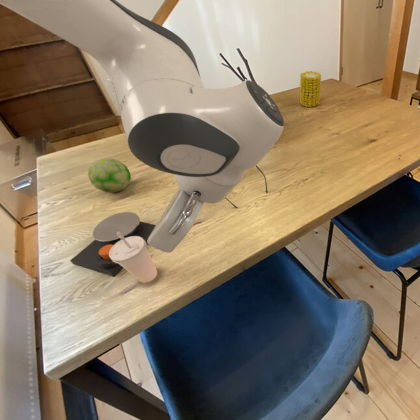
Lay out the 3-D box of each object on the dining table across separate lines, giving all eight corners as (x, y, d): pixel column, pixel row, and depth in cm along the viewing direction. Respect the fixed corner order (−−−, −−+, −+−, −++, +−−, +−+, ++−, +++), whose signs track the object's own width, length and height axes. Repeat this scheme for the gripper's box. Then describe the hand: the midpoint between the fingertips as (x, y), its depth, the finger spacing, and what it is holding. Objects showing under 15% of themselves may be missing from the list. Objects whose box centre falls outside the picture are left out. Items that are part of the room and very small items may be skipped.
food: (308, 102, 138) (323, 108, 133) (291, 103, 130) (306, 110, 125) (313, 69, 130) (329, 74, 125) (295, 68, 122) (311, 74, 117)
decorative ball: (92, 194, 82) (71, 166, 76) (122, 176, 89) (106, 149, 82) (115, 203, 79) (95, 174, 73) (144, 183, 86) (128, 156, 79)
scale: (114, 277, 61) (106, 269, 59) (73, 264, 63) (65, 256, 61) (162, 229, 71) (157, 221, 69) (125, 220, 74) (119, 212, 72)
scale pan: (117, 246, 63) (115, 245, 63) (83, 237, 66) (82, 235, 65) (149, 217, 70) (148, 216, 70) (118, 210, 73) (117, 208, 72)
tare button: (110, 261, 61) (105, 256, 60) (99, 258, 61) (95, 253, 60) (121, 251, 63) (117, 246, 62) (110, 248, 64) (106, 243, 62)
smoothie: (155, 288, 59) (122, 246, 49) (126, 288, 59) (87, 245, 49) (168, 263, 63) (140, 220, 54) (141, 263, 63) (108, 220, 54)
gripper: (206, 232, 37) (162, 275, 43) (238, 153, 52) (202, 194, 59) (159, 208, 34) (120, 258, 40) (208, 131, 49) (173, 177, 55)
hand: (169, 219), depth 50 cm, fingers open, 8 cm apart
